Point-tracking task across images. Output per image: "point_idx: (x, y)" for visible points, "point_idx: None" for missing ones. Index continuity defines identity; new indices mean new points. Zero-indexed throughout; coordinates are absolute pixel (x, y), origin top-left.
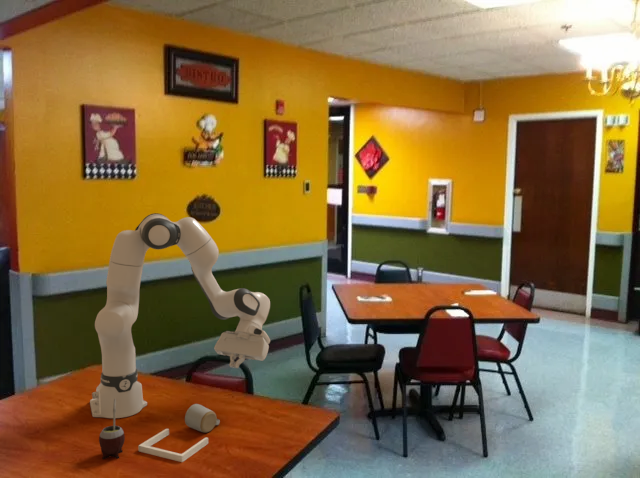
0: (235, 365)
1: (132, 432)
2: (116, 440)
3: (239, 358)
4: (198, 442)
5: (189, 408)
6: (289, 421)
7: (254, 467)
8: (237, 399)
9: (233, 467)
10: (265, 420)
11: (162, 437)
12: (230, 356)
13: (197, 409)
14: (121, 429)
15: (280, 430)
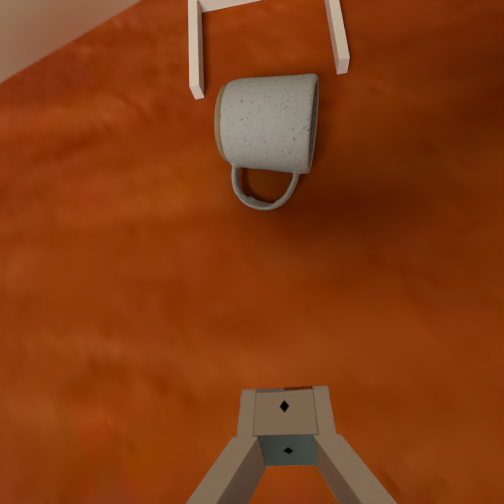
0: (250, 391)
1: (450, 24)
2: None
3: (223, 487)
4: (197, 55)
5: (310, 74)
6: (43, 349)
7: (35, 80)
8: None
9: (76, 56)
10: (121, 314)
11: (333, 46)
12: (380, 496)
13: (271, 81)
14: None
15: (47, 272)
